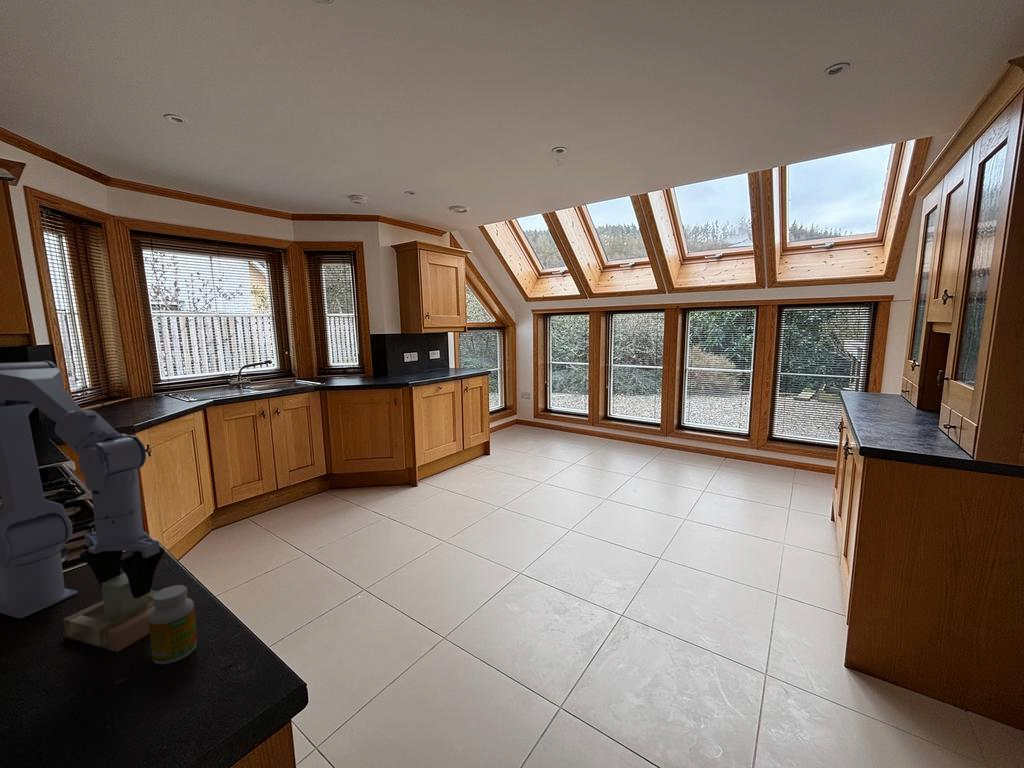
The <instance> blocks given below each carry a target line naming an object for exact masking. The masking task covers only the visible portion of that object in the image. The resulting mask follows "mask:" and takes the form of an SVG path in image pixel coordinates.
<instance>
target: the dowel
mask: <svg viewBox="0 0 1024 768" xmlns="http://www.w3.org/2000/svg"><path fill="white" fill-rule="evenodd" d="M101 591H102V601H103V603H104V612H105V622H109V623H111V622H113V621H115V620H117V619H119V618H121V617H123V616H125V615H127V614H129V613H130V612H132V611H134V610H136V609H138V608H140V607H142V606H144V605H146V604H148V603H149V598H148V593H147V594H145V595H143V596H141V597H139V598H137V599H136V598H134V597H133V595H132V593H131V589H130V585H129V581H128V578H127V576H126V574H125V572H123V573H120V575H119V576H117V577H115V578H112V579H110V580H108V581H106V582H104V583H102V589H101Z"/></svg>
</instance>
